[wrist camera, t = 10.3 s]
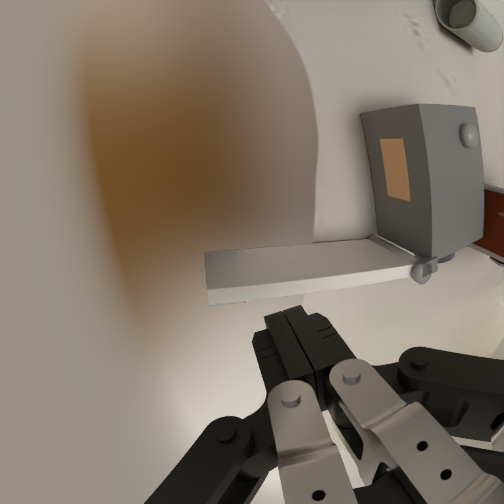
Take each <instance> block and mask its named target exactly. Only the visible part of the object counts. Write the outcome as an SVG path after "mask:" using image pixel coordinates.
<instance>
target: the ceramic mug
mask: <svg viewBox="0 0 504 504" xmlns="http://www.w3.org/2000/svg"><path fill="white" fill-rule="evenodd" d="M435 12H436V16H437V19H438V20H439V22H440V23H441V24H442V25H443V26H444V27H445V28H447V29H448V30H450V31H451V32H453V33H454V34H456V35H457V36H458V37H460V38H461V39H463V40H464V41H466V42H467V43H468V44H470V45H471V46H472V47H474V48H476V49H478V50H480V51H482V52H492V51H495V50H497V49H498V48H499V47H500V45H501V43H502V40H503V34H502V30H501V27H500V25H499V23H498V22H497V20H496V19H495V18H494V16H493V15H492V14H491V13H490V12H489V11H488V10H487V9H486V8H485V7H484V6H483V5H482V4H481V3H480V2H479V1H478V0H436V4H435Z"/></svg>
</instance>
